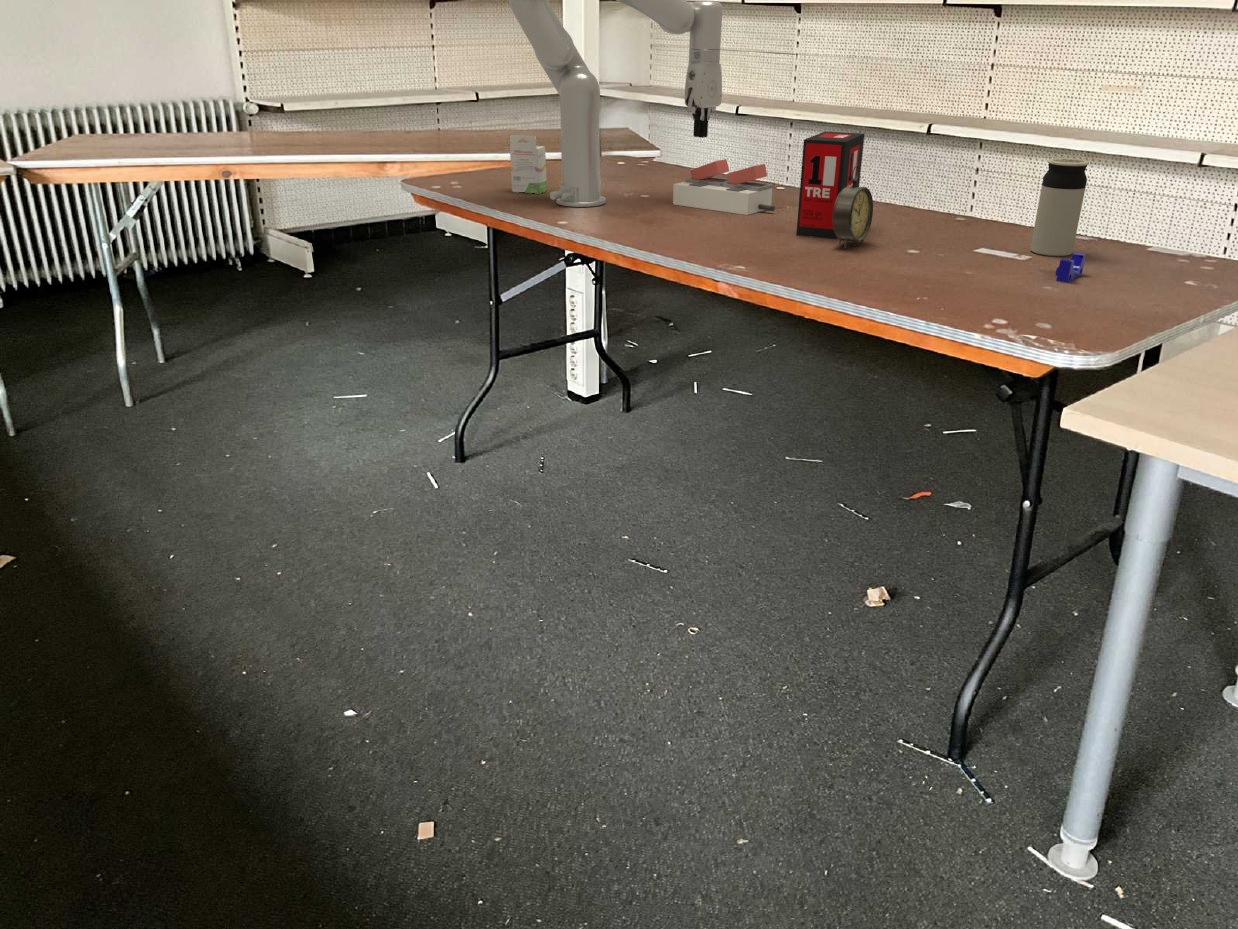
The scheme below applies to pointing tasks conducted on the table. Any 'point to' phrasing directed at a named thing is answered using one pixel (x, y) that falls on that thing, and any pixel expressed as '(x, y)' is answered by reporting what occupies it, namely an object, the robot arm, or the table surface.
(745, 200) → the power strip
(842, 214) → the alarm clock
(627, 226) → the table surface
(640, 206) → the table surface
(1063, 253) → the travel mug
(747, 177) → the block
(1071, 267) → the cable holder
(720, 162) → the rocker
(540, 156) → the ink box
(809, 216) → the cleaning product box
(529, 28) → the robot arm
